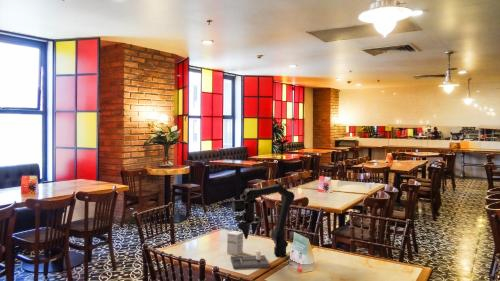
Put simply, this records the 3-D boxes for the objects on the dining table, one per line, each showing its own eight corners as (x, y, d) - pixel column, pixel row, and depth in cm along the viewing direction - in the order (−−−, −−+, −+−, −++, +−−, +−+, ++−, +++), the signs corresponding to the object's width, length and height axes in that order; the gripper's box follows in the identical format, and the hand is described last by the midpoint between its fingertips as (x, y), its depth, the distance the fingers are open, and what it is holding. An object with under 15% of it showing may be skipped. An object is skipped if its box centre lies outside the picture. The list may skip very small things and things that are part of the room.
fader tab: (259, 257, 222) (259, 249, 222) (260, 259, 219) (260, 251, 219) (255, 257, 222) (256, 249, 222) (257, 260, 218) (257, 252, 218)
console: (264, 258, 228) (264, 255, 228) (269, 267, 214) (269, 263, 214) (230, 259, 225) (230, 256, 225) (233, 268, 211) (233, 265, 211)
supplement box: (226, 253, 236) (226, 233, 235) (232, 250, 242) (233, 230, 242) (237, 255, 233) (237, 234, 232) (243, 252, 239) (243, 231, 238)
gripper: (245, 205, 238) (245, 230, 239) (229, 212, 221) (229, 239, 222) (261, 207, 233) (261, 233, 234) (246, 214, 216) (247, 242, 217)
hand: (249, 236), depth 227 cm, fingers open, 9 cm apart
